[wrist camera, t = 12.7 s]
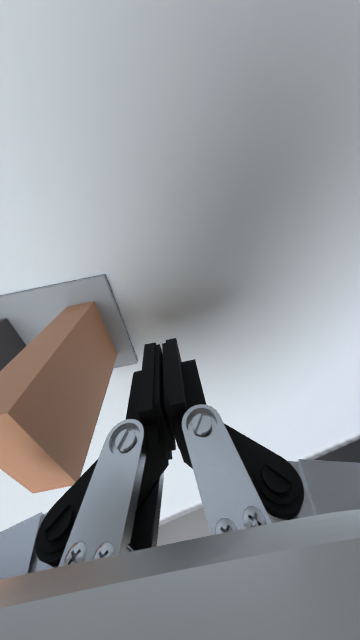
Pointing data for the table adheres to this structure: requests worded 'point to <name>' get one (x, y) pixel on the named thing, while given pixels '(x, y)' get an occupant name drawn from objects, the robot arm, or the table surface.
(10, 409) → the domino
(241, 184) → the table surface
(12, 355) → the domino
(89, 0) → the table surface
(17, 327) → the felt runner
